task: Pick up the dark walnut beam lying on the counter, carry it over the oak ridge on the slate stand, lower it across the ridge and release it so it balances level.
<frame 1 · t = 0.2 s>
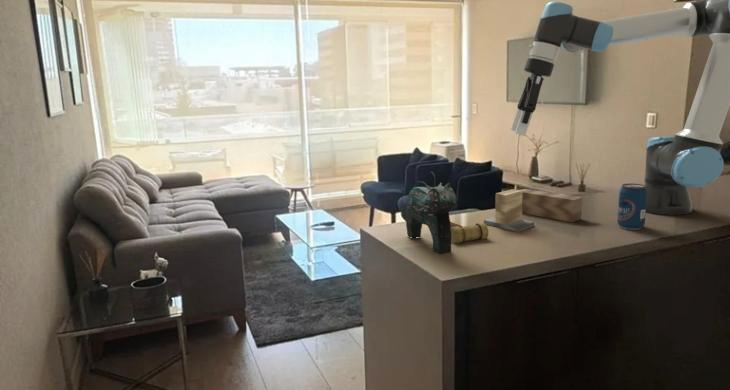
hand: (517, 133, 149), 27 cm above the table, tool tilted 15°, fingers open, 13 cm apart
walnut beam: (546, 215, 160), on the table
soda can: (630, 227, 144), on the table
ceramic cat: (427, 245, 136), on the table
gavel: (454, 234, 147), on the table
fulcrum: (508, 225, 151), on the table
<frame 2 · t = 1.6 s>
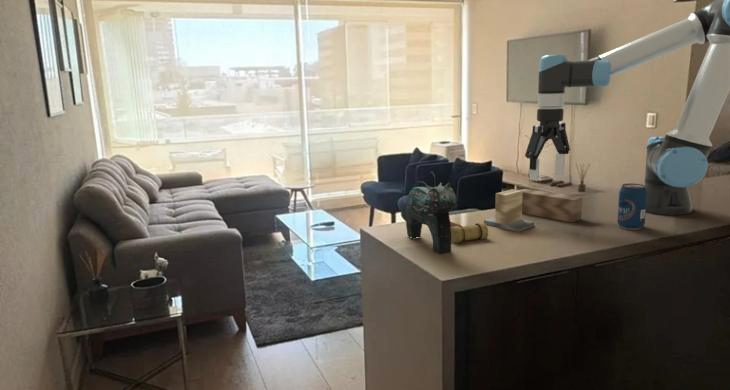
hand: (546, 177, 158), 12 cm above the table, tool pointing down, fingers open, 13 cm apart
nothing on the table moved.
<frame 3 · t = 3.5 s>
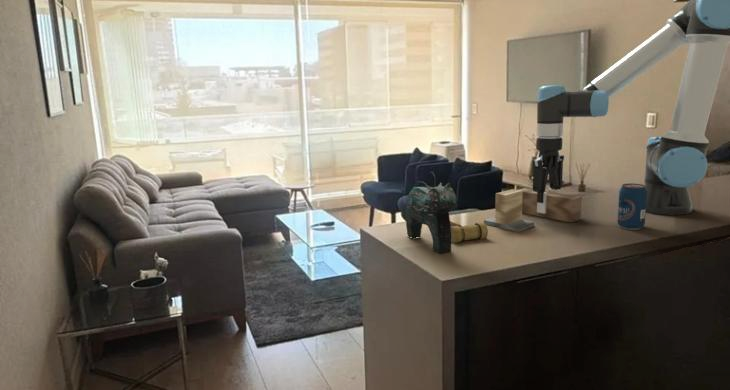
hand: (546, 210, 160), 1 cm above the table, tool pointing down, fingers closed on walnut beam, 5 cm apart
walnut beam: (546, 215, 160), on the table, touching gripper
everything else where it was.
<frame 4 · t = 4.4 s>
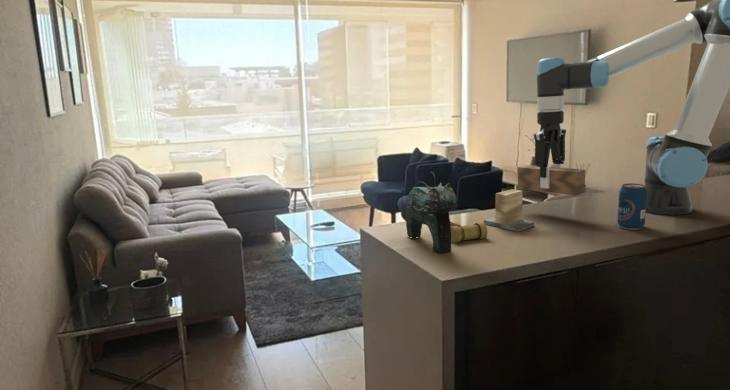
hand: (550, 186, 158), 9 cm above the table, tool pointing down, fingers closed on walnut beam, 5 cm apart
walnut beam: (550, 190, 158), point 8 cm above the table, touching gripper
everything else where it was.
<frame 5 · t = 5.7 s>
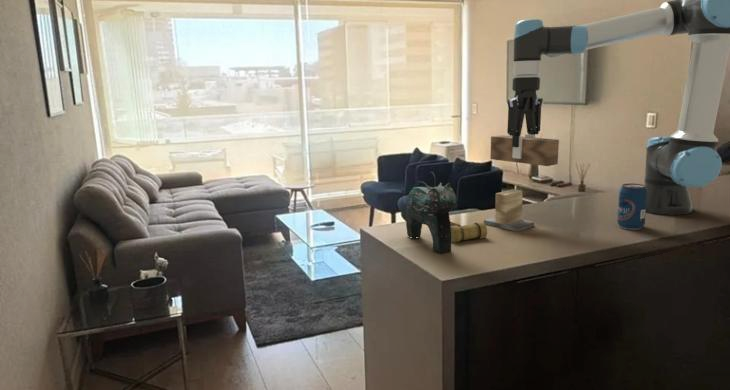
hand: (523, 157, 151), 20 cm above the table, tool pointing down, fingers closed on walnut beam, 5 cm apart
walnut beam: (522, 161, 151), point 18 cm above the table, touching gripper
everything else where it was.
when the fingers open (12 cm above the table, at t = 7.9 s): walnut beam drops 1 cm, resting on fulcrum.
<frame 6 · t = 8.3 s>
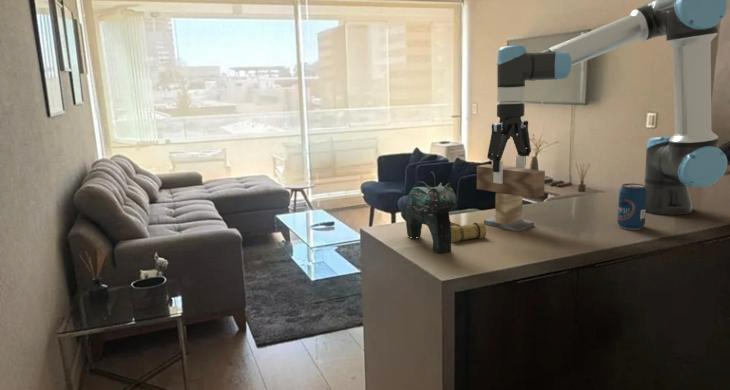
hand: (509, 180, 148), 13 cm above the table, tool pointing down, fingers open, 10 cm apart
walnut beam: (508, 192, 149), point 10 cm above the table, touching fulcrum
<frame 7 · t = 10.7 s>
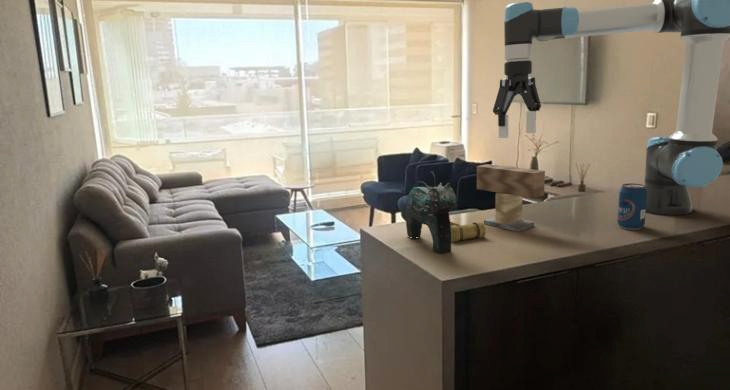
hand: (517, 135, 149), 26 cm above the table, tool pointing down, fingers open, 13 cm apart
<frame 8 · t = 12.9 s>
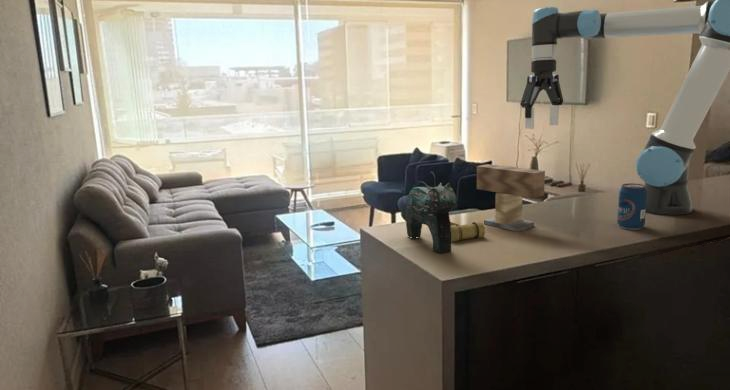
hand: (541, 126, 166), 27 cm above the table, tool pointing down, fingers open, 13 cm apart
at the end: walnut beam 0.1 cm off-centre on the fulcrum, point 10.0 cm above the fulcrum's base; walnut beam tilted 0°; walnut beam touching fulcrum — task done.
